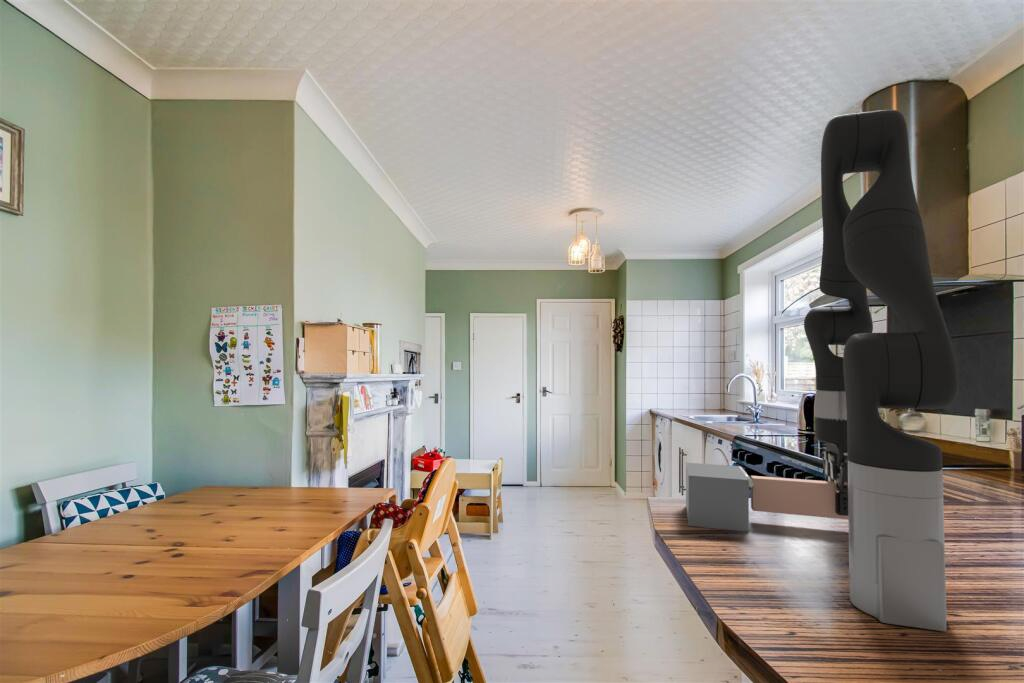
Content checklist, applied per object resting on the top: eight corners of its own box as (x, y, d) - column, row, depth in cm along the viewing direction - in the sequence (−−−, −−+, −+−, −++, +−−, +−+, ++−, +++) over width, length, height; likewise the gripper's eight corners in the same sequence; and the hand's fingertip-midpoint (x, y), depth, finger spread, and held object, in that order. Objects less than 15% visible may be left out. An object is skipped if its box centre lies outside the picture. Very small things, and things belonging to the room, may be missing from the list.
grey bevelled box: (754, 532, 89) (754, 480, 89) (688, 525, 92) (688, 475, 92) (743, 511, 102) (742, 466, 103) (685, 506, 105) (685, 462, 106)
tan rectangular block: (852, 519, 90) (851, 485, 90) (753, 510, 94) (752, 478, 95) (847, 516, 92) (847, 482, 92) (751, 507, 97) (750, 475, 97)
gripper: (877, 420, 84) (879, 526, 84) (849, 413, 98) (851, 504, 97) (826, 418, 87) (828, 521, 86) (805, 412, 100) (806, 501, 99)
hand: (840, 512), depth 91 cm, fingers closed on tan rectangular block, 2 cm apart
